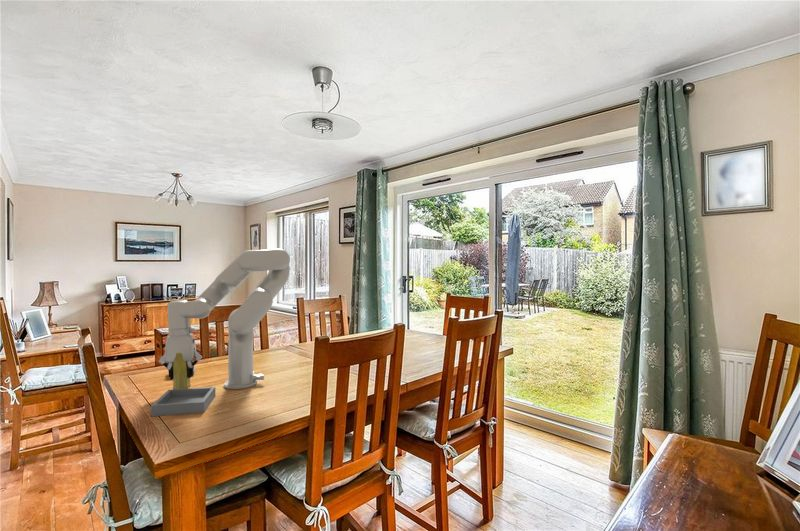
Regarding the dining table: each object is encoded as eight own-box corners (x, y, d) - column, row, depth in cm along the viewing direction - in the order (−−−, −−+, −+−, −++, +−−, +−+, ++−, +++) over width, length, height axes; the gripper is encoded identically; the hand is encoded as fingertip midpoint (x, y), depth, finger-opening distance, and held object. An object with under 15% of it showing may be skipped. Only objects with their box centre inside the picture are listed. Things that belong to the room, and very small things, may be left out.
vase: (182, 391, 146) (181, 353, 146) (168, 390, 148) (167, 353, 147) (194, 385, 152) (192, 350, 152) (180, 384, 154) (179, 349, 153)
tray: (215, 396, 145) (215, 386, 145) (203, 412, 130) (204, 402, 130) (168, 399, 142) (168, 389, 142) (150, 416, 126) (150, 405, 126)
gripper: (206, 328, 155) (207, 373, 156) (158, 331, 151) (160, 377, 152) (201, 332, 148) (202, 379, 148) (151, 335, 144) (153, 383, 144)
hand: (181, 377), depth 150 cm, fingers closed on vase, 5 cm apart
